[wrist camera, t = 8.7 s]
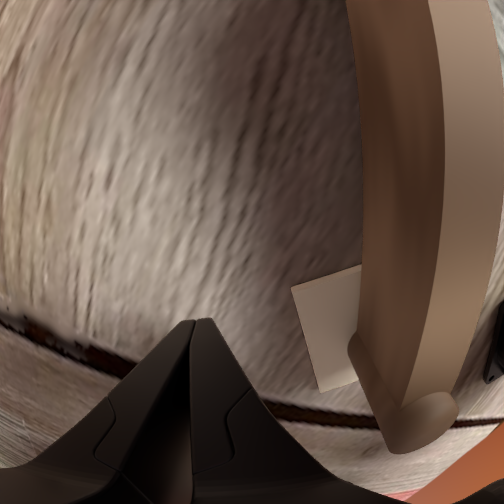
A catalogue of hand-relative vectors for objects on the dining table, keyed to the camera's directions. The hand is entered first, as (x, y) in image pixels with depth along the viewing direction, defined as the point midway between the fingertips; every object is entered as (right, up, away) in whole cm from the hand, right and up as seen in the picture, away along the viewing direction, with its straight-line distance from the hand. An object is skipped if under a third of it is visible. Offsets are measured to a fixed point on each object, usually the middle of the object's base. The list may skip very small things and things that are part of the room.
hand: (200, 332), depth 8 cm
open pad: (+6, -1, +4) cm, 7 cm away
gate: (+5, +6, 0) cm, 8 cm away
